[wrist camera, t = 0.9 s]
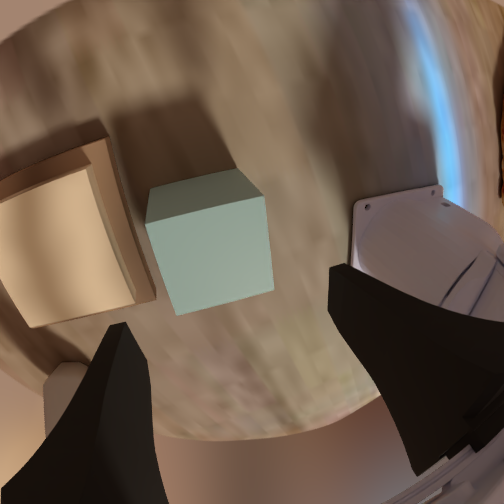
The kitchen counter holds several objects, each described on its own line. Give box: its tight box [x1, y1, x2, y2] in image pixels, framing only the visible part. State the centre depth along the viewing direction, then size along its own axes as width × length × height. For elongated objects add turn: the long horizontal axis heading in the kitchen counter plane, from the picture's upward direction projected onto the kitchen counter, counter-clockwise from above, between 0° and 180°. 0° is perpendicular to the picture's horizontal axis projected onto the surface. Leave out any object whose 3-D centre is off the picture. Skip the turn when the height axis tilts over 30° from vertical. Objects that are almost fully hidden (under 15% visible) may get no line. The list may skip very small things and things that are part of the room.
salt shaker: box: [43, 362, 88, 438], centre depth 15 cm, size 6×6×13 cm
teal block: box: [145, 168, 274, 316], centre depth 15 cm, size 5×5×5 cm
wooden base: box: [0, 136, 156, 329], centre depth 14 cm, size 10×10×2 cm
